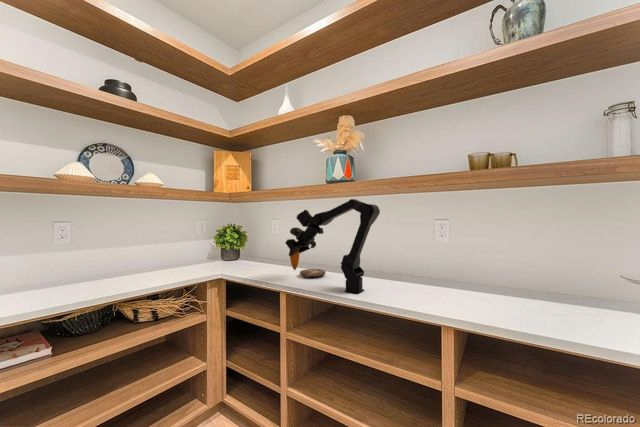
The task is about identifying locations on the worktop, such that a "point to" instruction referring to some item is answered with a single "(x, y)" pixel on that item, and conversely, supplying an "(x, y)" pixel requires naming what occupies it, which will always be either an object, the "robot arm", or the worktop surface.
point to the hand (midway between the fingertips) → (292, 254)
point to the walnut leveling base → (312, 273)
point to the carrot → (294, 260)
